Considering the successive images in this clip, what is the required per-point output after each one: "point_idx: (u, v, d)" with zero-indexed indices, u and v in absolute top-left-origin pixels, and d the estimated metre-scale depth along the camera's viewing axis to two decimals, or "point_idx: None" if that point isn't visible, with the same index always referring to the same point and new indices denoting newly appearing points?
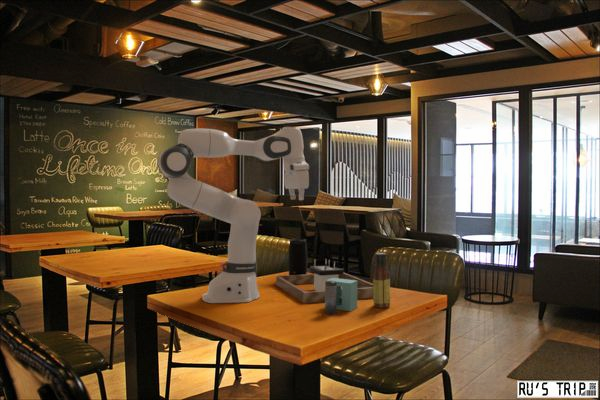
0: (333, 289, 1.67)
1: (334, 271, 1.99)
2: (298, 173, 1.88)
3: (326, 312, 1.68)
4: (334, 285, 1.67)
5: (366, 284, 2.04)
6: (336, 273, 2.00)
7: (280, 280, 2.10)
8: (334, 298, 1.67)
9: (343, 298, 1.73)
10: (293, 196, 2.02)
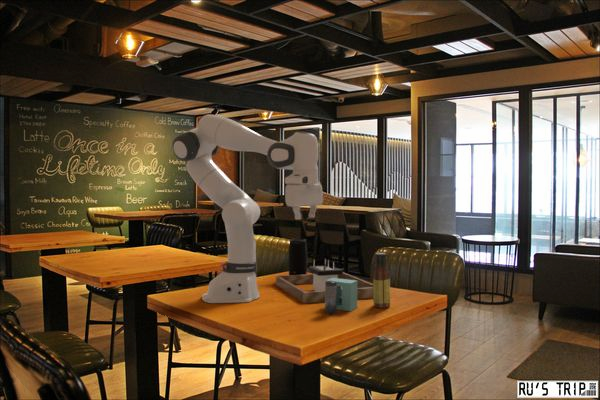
0: (333, 289, 1.67)
1: (333, 271, 1.98)
2: (286, 187, 1.60)
3: (326, 312, 1.68)
4: (334, 285, 1.67)
5: (366, 284, 2.04)
6: (335, 273, 1.99)
7: (280, 280, 2.10)
8: (334, 298, 1.67)
9: (343, 298, 1.73)
10: (310, 214, 1.71)
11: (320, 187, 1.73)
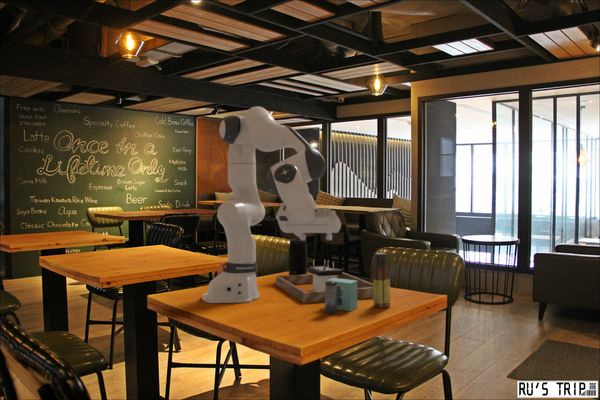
0: (333, 289, 1.67)
1: (333, 271, 1.98)
2: None
3: (326, 312, 1.68)
4: (334, 285, 1.67)
5: (366, 284, 2.04)
6: (335, 273, 1.98)
7: (280, 280, 2.10)
8: (334, 298, 1.67)
9: (343, 298, 1.73)
10: None
11: (326, 220, 1.47)
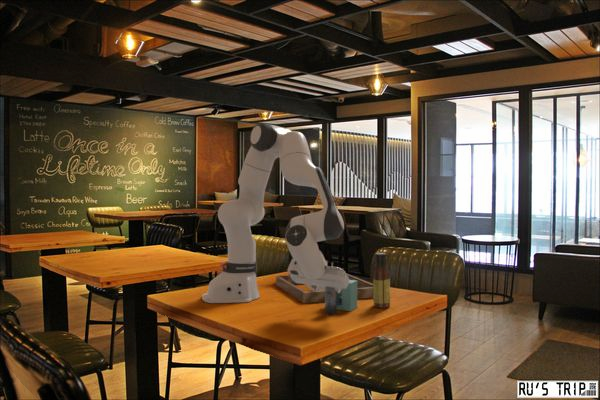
0: (333, 289, 1.67)
1: None
2: None
3: (326, 312, 1.68)
4: None
5: (366, 284, 2.04)
6: None
7: (280, 280, 2.10)
8: (334, 298, 1.67)
9: (343, 298, 1.73)
10: None
11: (335, 277, 1.53)
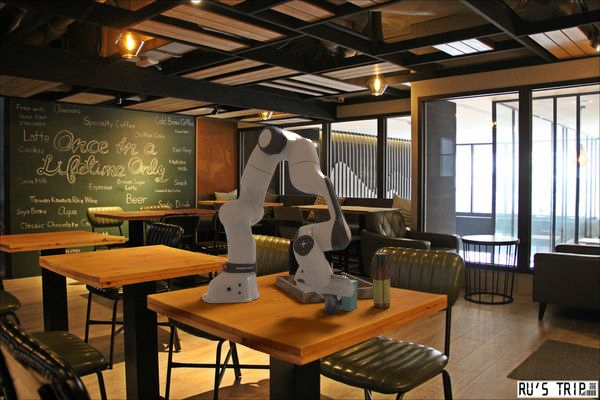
0: None
1: None
2: None
3: (326, 312, 1.68)
4: None
5: (366, 284, 2.04)
6: (334, 274, 1.97)
7: (280, 280, 2.10)
8: (334, 298, 1.67)
9: (343, 298, 1.73)
10: None
11: (341, 286, 1.58)
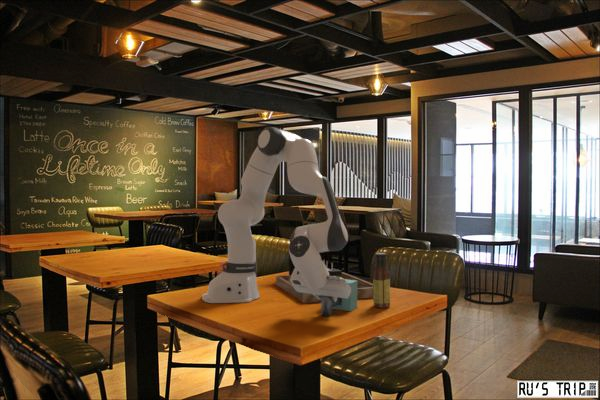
0: None
1: (332, 272, 1.96)
2: None
3: (322, 314, 1.65)
4: None
5: (366, 284, 2.04)
6: (334, 274, 1.97)
7: (280, 280, 2.10)
8: (330, 300, 1.65)
9: (343, 298, 1.73)
10: None
11: (337, 288, 1.55)
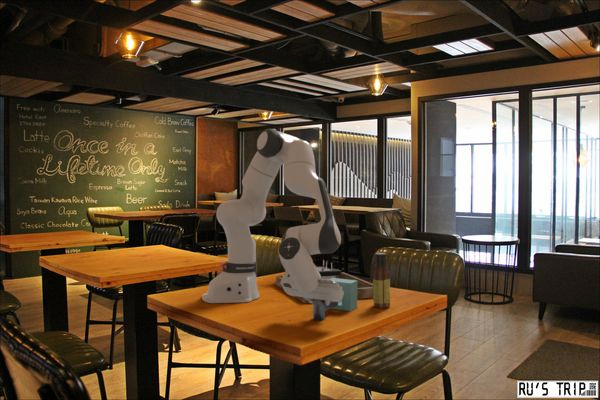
0: None
1: (331, 272, 1.96)
2: None
3: (314, 318, 1.60)
4: None
5: (366, 284, 2.04)
6: (333, 274, 1.97)
7: (280, 280, 2.10)
8: (322, 303, 1.59)
9: (343, 298, 1.73)
10: None
11: (329, 291, 1.50)
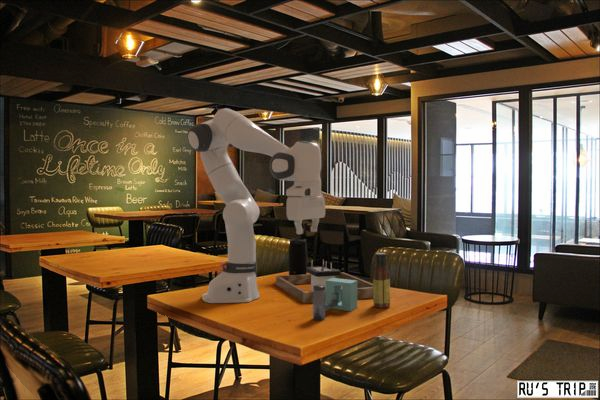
0: (321, 294, 1.59)
1: (331, 272, 1.96)
2: (287, 200, 1.50)
3: (314, 318, 1.60)
4: (322, 290, 1.59)
5: (366, 284, 2.04)
6: (333, 274, 1.97)
7: (280, 280, 2.10)
8: (322, 303, 1.59)
9: (343, 298, 1.73)
10: (312, 228, 1.61)
11: (322, 199, 1.63)
